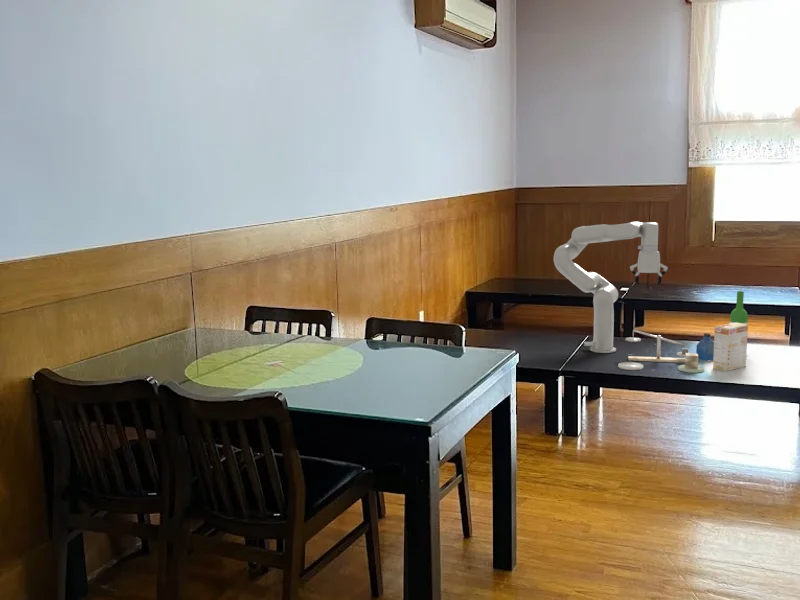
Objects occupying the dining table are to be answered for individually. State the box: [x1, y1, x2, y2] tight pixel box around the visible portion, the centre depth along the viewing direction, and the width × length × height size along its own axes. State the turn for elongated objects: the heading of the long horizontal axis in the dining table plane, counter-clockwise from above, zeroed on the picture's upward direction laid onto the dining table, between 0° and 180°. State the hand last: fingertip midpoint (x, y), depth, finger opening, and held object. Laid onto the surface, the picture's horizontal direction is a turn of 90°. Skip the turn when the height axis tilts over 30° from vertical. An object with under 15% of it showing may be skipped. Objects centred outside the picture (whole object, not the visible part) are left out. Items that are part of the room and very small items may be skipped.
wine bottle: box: [729, 290, 749, 325], centre depth 385 cm, size 8×8×30 cm
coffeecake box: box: [712, 322, 749, 372], centre depth 358 cm, size 15×7×20 cm, turn 123°
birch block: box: [684, 352, 699, 369], centre depth 356 cm, size 5×5×6 cm
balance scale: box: [625, 329, 689, 364], centre depth 373 cm, size 30×7×15 cm, turn 76°
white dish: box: [617, 361, 644, 371], centre depth 363 cm, size 11×11×1 cm
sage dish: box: [677, 364, 705, 374], centre depth 357 cm, size 11×11×1 cm
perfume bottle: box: [695, 332, 714, 362], centre depth 376 cm, size 6×6×12 cm
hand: (648, 284), depth 382 cm, fingers open, 9 cm apart
